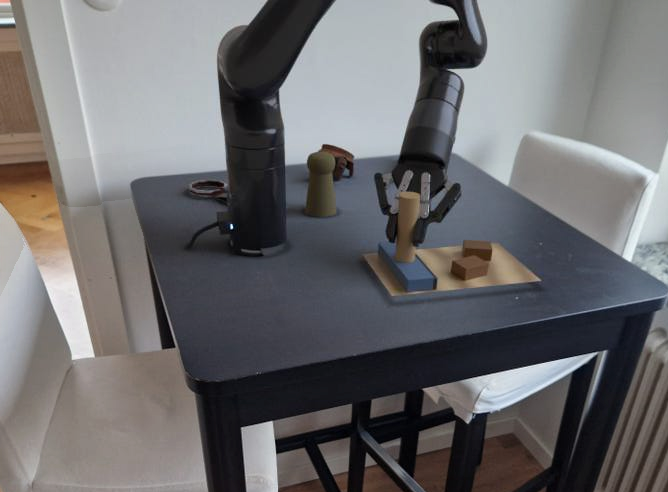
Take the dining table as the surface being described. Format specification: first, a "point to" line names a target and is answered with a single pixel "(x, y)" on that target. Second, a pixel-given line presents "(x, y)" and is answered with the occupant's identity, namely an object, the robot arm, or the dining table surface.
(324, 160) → the olive game pawn
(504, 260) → the cutting board
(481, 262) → the block
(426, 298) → the dining table surface
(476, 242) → the block
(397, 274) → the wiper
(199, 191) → the keychain
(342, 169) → the brown piece
